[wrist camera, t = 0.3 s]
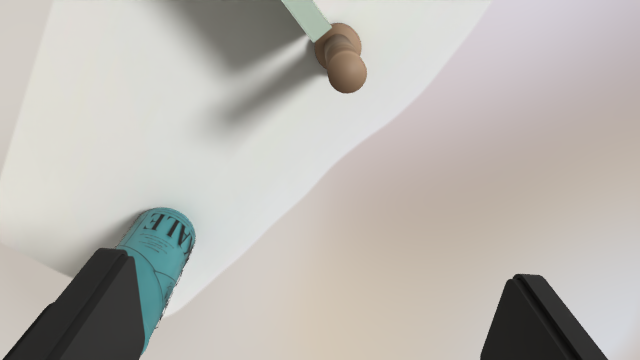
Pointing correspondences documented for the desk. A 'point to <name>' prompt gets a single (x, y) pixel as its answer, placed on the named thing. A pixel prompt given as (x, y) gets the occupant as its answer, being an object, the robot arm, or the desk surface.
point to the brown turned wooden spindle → (342, 58)
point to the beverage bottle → (158, 259)
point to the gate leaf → (308, 17)
